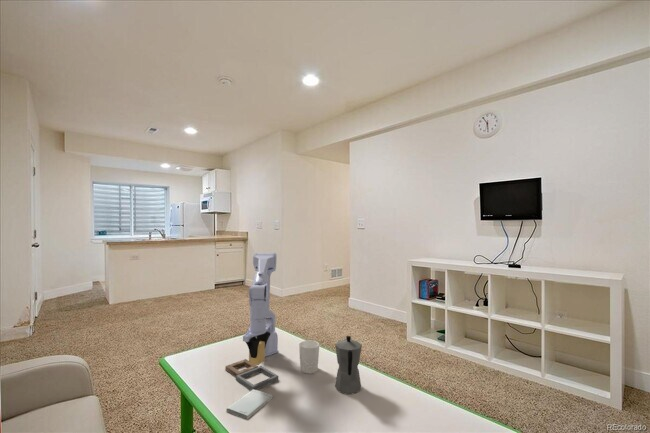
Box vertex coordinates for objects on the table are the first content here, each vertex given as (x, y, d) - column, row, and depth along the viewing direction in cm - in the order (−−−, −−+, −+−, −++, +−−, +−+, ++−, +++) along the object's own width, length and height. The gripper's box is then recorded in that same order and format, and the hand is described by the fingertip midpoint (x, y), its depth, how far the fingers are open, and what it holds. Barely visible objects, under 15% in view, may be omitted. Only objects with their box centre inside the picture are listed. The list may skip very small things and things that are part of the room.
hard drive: (247, 415, 92) (272, 394, 103) (226, 407, 95) (252, 388, 106) (247, 421, 92) (272, 399, 103) (226, 413, 95) (252, 393, 106)
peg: (255, 358, 117) (256, 339, 117) (264, 360, 115) (264, 341, 115) (248, 363, 113) (249, 343, 113) (257, 365, 112) (258, 345, 112)
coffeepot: (334, 377, 116) (334, 329, 117) (359, 378, 116) (360, 329, 117) (335, 401, 101) (336, 345, 101) (364, 402, 101) (364, 346, 101)
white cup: (295, 372, 120) (295, 346, 121) (304, 363, 128) (304, 339, 128) (314, 376, 118) (314, 349, 118) (322, 367, 125) (322, 342, 125)
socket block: (245, 362, 128) (245, 359, 128) (258, 370, 122) (258, 366, 122) (225, 370, 121) (225, 366, 121) (237, 378, 115) (237, 374, 115)
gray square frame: (261, 369, 122) (261, 365, 122) (278, 379, 114) (278, 375, 114) (235, 379, 114) (235, 375, 114) (252, 391, 106) (252, 387, 106)
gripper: (261, 311, 123) (260, 345, 123) (236, 321, 110) (235, 360, 109) (276, 313, 120) (275, 349, 120) (252, 324, 107) (251, 364, 106)
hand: (257, 354), depth 114 cm, fingers closed on peg, 4 cm apart
